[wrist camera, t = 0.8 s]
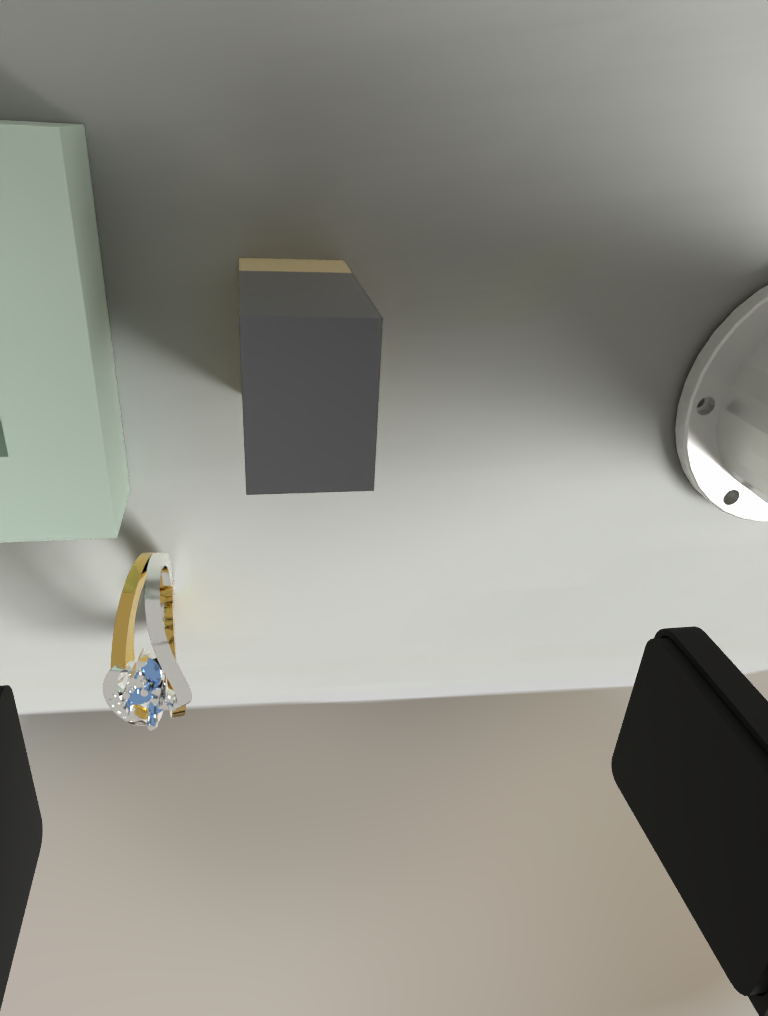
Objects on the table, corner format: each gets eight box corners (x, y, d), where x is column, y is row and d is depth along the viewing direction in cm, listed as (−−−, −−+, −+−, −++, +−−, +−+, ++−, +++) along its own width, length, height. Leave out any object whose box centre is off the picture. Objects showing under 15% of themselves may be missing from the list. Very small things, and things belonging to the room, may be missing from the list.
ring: (123, 519, 32) (92, 632, 25) (199, 520, 33) (187, 630, 26) (133, 645, 35) (107, 776, 28) (201, 643, 36) (192, 770, 29)
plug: (343, 260, 28) (382, 317, 21) (340, 394, 31) (373, 490, 23) (239, 257, 28) (239, 316, 20) (244, 395, 30) (246, 494, 23)
